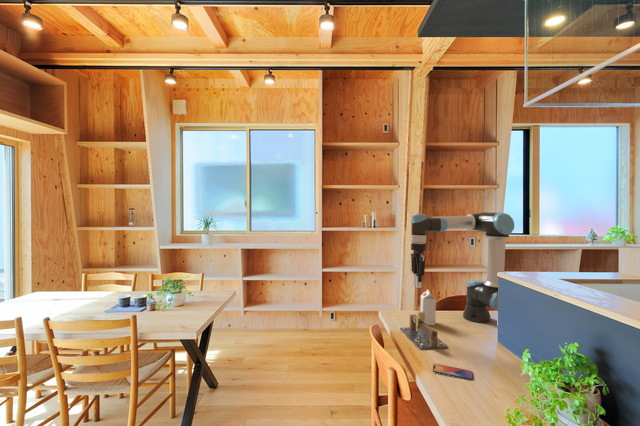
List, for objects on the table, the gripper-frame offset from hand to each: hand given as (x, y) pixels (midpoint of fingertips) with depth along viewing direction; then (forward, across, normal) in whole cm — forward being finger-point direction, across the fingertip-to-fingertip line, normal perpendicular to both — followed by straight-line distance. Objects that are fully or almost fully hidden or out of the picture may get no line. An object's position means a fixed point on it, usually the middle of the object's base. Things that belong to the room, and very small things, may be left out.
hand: (417, 286), depth 175 cm
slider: (+23, +6, 0) cm, 24 cm away
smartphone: (+25, +42, -3) cm, 49 cm away
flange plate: (+25, +8, 0) cm, 26 cm away
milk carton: (+25, -14, +13) cm, 31 cm away
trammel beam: (+25, +8, 0) cm, 26 cm away
